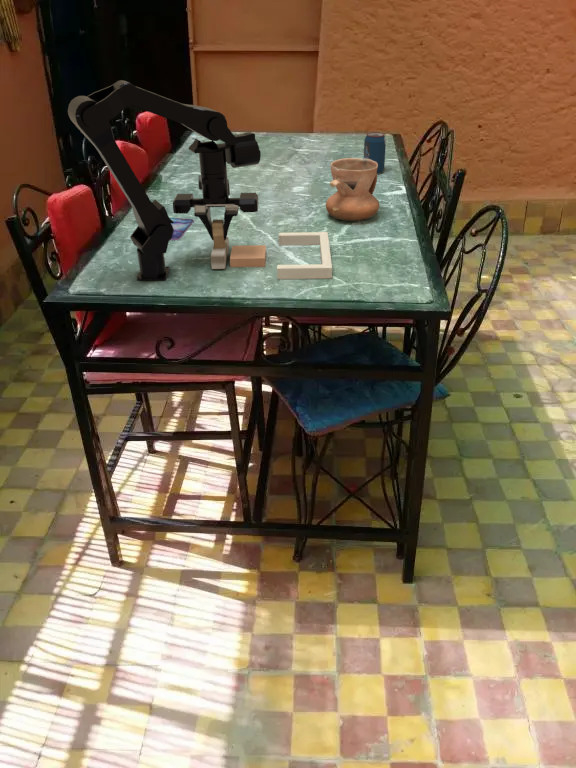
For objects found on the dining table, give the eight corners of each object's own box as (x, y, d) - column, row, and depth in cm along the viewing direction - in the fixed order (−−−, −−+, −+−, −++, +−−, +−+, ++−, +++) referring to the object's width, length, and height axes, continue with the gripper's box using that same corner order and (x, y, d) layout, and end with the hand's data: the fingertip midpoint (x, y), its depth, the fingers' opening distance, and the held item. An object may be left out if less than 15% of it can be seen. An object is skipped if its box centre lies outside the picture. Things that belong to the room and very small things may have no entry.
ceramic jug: (350, 230, 165) (353, 175, 157) (311, 217, 173) (311, 164, 166) (394, 214, 175) (399, 161, 167) (355, 202, 184) (357, 152, 176)
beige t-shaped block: (224, 268, 144) (221, 230, 139) (211, 269, 144) (208, 230, 139) (229, 248, 154) (226, 212, 149) (216, 249, 154) (213, 212, 149)
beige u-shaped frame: (327, 241, 158) (327, 232, 157) (331, 278, 140) (332, 267, 139) (279, 242, 158) (279, 232, 157) (277, 279, 140) (277, 268, 139)
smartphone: (194, 219, 173) (178, 239, 160) (195, 222, 173) (179, 242, 161) (168, 217, 174) (150, 237, 161) (169, 220, 174) (151, 240, 162)
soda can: (386, 170, 211) (389, 132, 204) (380, 175, 206) (382, 137, 199) (366, 168, 213) (368, 130, 207) (360, 173, 208) (361, 135, 202)
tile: (265, 268, 146) (264, 258, 145) (230, 268, 146) (229, 258, 145) (266, 255, 153) (265, 245, 152) (233, 255, 153) (232, 245, 152)
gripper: (258, 160, 145) (260, 226, 153) (176, 161, 145) (183, 228, 154) (255, 174, 135) (259, 243, 144) (168, 175, 136) (177, 245, 144)
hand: (219, 239), depth 147 cm, fingers closed on beige t-shaped block, 2 cm apart
